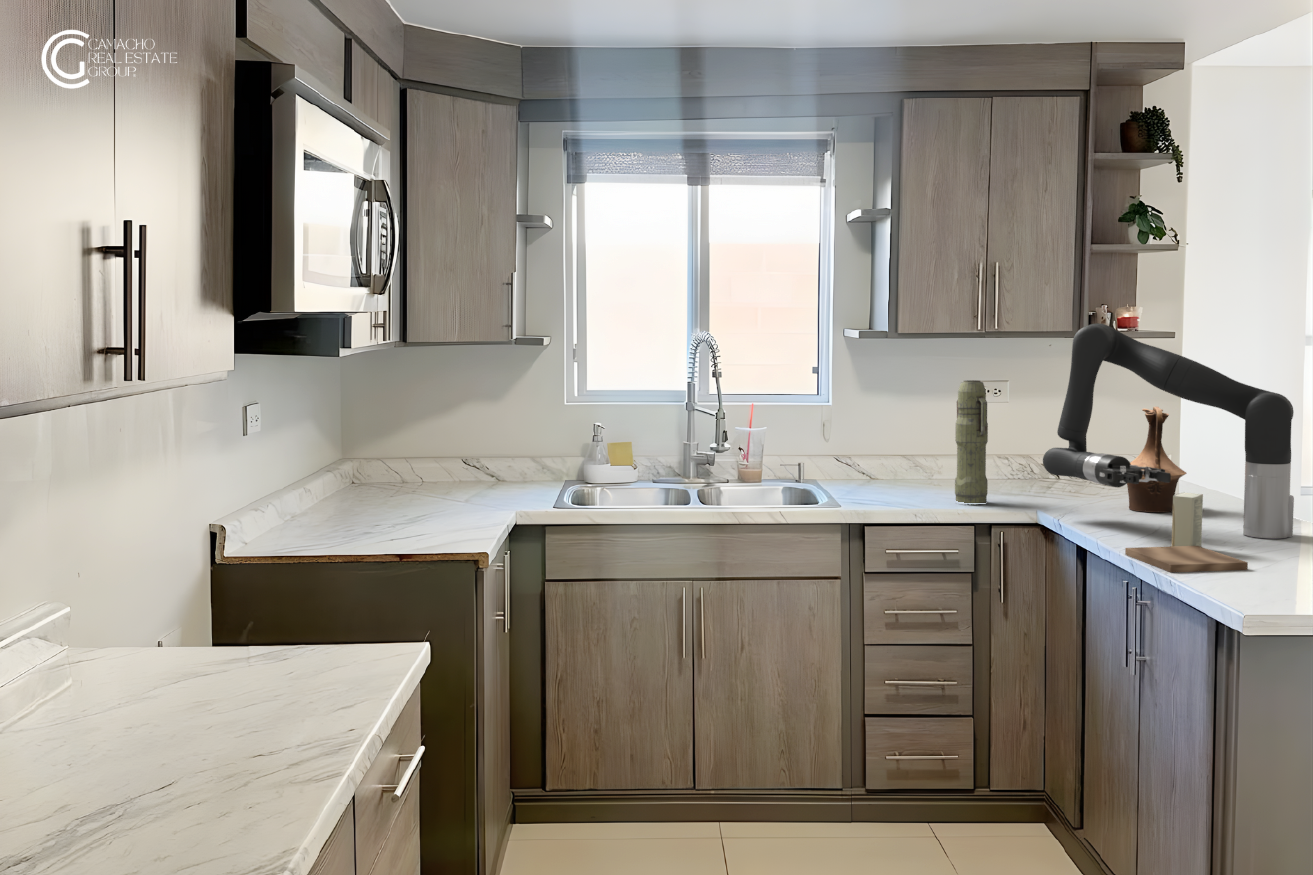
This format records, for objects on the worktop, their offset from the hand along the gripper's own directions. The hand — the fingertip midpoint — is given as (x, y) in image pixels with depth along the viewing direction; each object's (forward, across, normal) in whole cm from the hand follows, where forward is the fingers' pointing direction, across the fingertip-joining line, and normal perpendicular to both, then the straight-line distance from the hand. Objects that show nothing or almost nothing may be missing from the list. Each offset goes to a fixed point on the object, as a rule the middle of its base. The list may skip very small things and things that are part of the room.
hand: (1153, 478), depth 247 cm
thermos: (-65, -7, +16) cm, 67 cm away
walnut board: (+22, -10, +14) cm, 28 cm away
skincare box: (+11, 0, +14) cm, 18 cm away
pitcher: (-36, +30, +15) cm, 49 cm away
